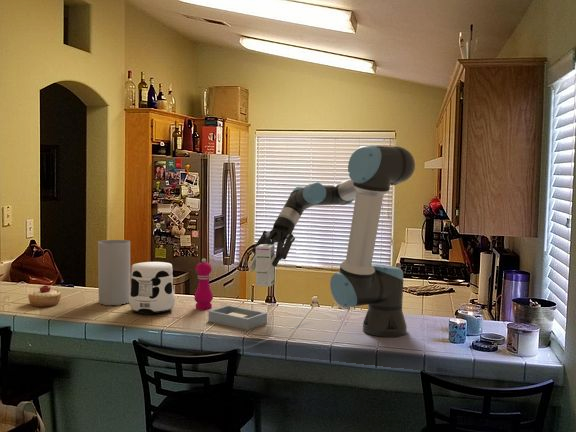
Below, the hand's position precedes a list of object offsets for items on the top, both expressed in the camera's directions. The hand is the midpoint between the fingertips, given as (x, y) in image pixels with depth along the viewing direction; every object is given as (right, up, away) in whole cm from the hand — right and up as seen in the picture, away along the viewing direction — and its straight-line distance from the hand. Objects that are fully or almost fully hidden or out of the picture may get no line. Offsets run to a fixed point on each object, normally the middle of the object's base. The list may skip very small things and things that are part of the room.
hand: (259, 271), depth 211 cm
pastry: (-87, -16, +24) cm, 91 cm away
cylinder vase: (-60, -16, +29) cm, 69 cm away
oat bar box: (-8, -18, 0) cm, 20 cm away
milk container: (-42, -17, +17) cm, 49 cm away
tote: (-8, -19, 0) cm, 21 cm away
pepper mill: (-23, -17, +22) cm, 36 cm away
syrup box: (+2, -5, +4) cm, 7 cm away
